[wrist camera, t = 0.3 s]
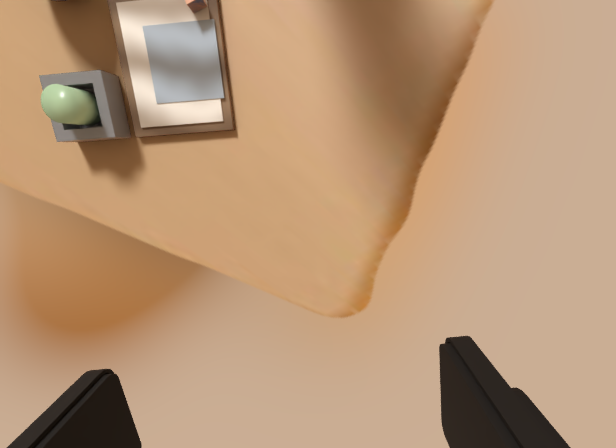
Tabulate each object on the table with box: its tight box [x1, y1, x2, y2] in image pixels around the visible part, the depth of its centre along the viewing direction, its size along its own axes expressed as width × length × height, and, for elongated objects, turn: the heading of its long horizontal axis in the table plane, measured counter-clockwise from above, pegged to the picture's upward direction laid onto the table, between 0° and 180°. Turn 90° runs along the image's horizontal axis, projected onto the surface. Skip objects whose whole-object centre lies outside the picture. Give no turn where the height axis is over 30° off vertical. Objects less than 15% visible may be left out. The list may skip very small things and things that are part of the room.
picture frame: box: [108, 0, 235, 137], centre depth 34 cm, size 15×12×1 cm
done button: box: [41, 84, 101, 126], centre depth 33 cm, size 4×4×4 cm
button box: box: [39, 70, 131, 142], centre depth 35 cm, size 7×7×3 cm
